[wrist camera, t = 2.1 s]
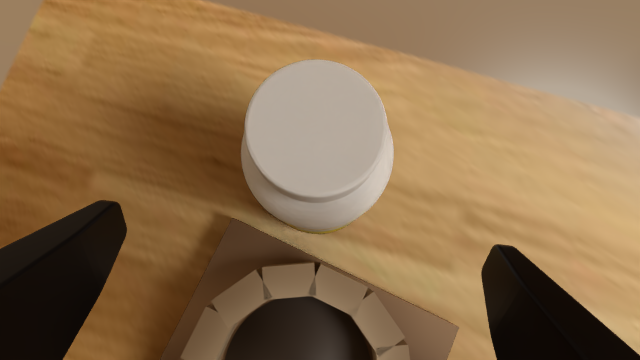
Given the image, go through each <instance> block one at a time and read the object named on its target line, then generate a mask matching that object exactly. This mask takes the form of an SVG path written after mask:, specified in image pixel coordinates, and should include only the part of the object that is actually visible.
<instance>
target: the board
mask: <svg viewBox="0 0 640 360" xmlns="http://www.w3.org/2000/svg"><path fill="white" fill-rule="evenodd" d="M458 329H459V327H458V326H456V325H454V324H452V323H450V322H448V321H446V320H444V319H442V318H440V317H438V316H436V315H434V314H432V313H430V312H428V311H425V310H423V309H421V308H419V307H417V306H415V305H413V304H411V303H409V302H407V301H405V300H403V299H401V298H399V297H396V296H394V295H392V294H390V293H388V292H386V291H384V290H382V289H380V288H378V287H376V286H374V285H372V284H369V283H367V282H365V281H363V280H361V279H359V278H357V277H355V276H353V275H351V274H349V273H347V272H345V271H342V270H340V269H338V268H336V267H334V266H332V265H330V264H328V263H326V262H324V261H322V260H320V259H318V258H316V257H313V256H311V255H309V254H307V253H305V252H303V251H301V250H299V249H297V248H295V247H293V246H291V245H289V244H286V243H284V242H282V241H280V240H278V239H276V238H274V237H272V236H270V235H268V234H266V233H264V232H262V231H259V230H257V229H255V228H253V227H251V226H249V225H247V224H245V223H243V222H241V221H239V220H237V219H234V218H232V220H231V222H230V224H229V226H228V228H227V230H226V232H225V233H224V235H223V237H222V239H221V241H220V243H219V245H218V247H217V249H216V251H215V253H214V255H213V257H212V259H211V261H210V263H209V265H208V267H207V269H206V270H205V272H204V274H203V276H202V278H201V280H200V282H199V284H198V286H197V288H196V290H195V292H194V294H193V296H192V298H191V300H190V302H189V304H188V306H187V307H186V309H185V311H184V313H183V315H182V317H181V319H180V321H179V323H178V325H177V327H176V329H175V331H174V333H173V335H172V337H171V339H170V341H169V343H168V345H167V346H166V348H165V350H164V352H163V354H162V356H161V358H160V360H447V358H448V355H449V352H450V350H451V347H452V345H453V342H454V339H455V337H456V334H457V332H458Z"/></svg>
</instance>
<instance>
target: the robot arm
mask: <svg viewBox="0 0 640 360" xmlns="http://www.w3.org/2000/svg"><path fill="white" fill-rule="evenodd" d="M126 233H127V227H126V223H125V220H124V216H123V213H122V209H121V206H120V204H119V203H118V202H115V201H106V200H100V201H97V202H95V203H93V204H91V205H89V206H87V207H85V208H83V209H81V210H78V211H76V212H74V213H72V214H70V215H68V216H66V217H64V218H62V219H60V220H58V221H56V222H54V223H52V224H50V225H48V226H46V227H44V228H42V229H40V230H38V231H36V232H34V233H32V234H30V235H27V236H25V237H23V238H21V239H19V240H17V241H15V242H13V243H11V244H9V245H7V246H5V247H3V248H1V249H0V360H63V358H64V356H65V355H66V353H67V351H68V349H69V348H70V346H71V344H72V342H73V341H74V339H75V337H76V335H77V334H78V332H79V330H80V328H81V327H82V325H83V323H84V321H85V320H86V318H87V316H88V314H89V313H90V311H91V309H92V307H93V306H94V304H95V302H96V300H97V299H98V297H99V295H100V293H101V291H102V289H103V287H104V285H105V283H106V280H107V278H108V276H109V274H110V271H111V269H112V267H113V264H114V262H115V260H116V257H117V255H118V253H119V251H120V248H121V246H122V244H123V241H124V239H125V237H126ZM481 275H482V283H483V290H484V296H485V303H486V309H487V316H488V322H489V328H490V334H491V338H492V343H493V347H494V350H495V354H496V358H497V360H640V355H639V354H638V353H636V352H635V351H634V350H633V349H632V348H631V347H629V346H628V345H627V344H626V343H625V342H624V341H623V340H621V339H620V338H619V337H618V336H617V335H616V334H614V333H613V332H612V331H611V330H610V329H609V328H608V327H606V326H605V325H604V324H603V323H602V322H601V321H599V320H598V319H597V318H596V317H595V316H594V315H592V314H591V313H590V312H589V311H588V310H587V309H586V308H584V307H583V306H582V305H581V304H580V303H579V302H577V301H576V300H575V299H574V298H573V297H572V296H571V295H569V294H568V293H567V292H566V291H565V290H564V289H562V288H561V287H560V286H559V285H558V284H557V283H556V282H554V281H553V280H552V279H551V278H550V277H549V276H547V275H546V274H545V273H544V272H543V271H542V270H540V269H539V268H538V267H537V266H536V265H535V264H534V263H532V262H531V261H530V260H529V259H528V258H527V257H525V256H524V255H523V254H522V253H521V252H520V251H519V250H517V249H516V248H515V247H513V246H509V245H500V244H497V245H494V246H493V247H492V249H491V251H490V253H489V255H488V257H487V259H486V261H485V263H484V265H483V268H482V273H481Z"/></svg>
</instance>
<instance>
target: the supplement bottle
mask: <svg viewBox="0 0 640 360" xmlns="http://www.w3.org/2000/svg"><path fill="white" fill-rule="evenodd" d="M393 157H394V147H393V140H392V135H391V132H390V129H389V126H388V124H387V117H386V112H385V109H384V106H383V103H382V101H381V99H380V97H379V95H378V93H377V92H376V91H375V89H374V88H373V86H372V85H371V84H370V83H369V82H368V81H367V80H366V79H365V78H364V77H363V76H362V75H360V74H359V73H358V72H356V71H355V70H353V69H351V68H349V67H347V66H346V65H343V64H340V63H337V62H334V61H328V60H317V59H312V60H304V61H299V62H295V63H292V64H289V65H287V66H284V67H282V68H280V69H279V70H277V71H275V72H274V73H273V74H271V75H270V76H269V77H268V78H267V79H265V80H264V81H263V83H262V84H261V85H260V86H259V87H258V89H257V90H256V92H255V93H254V95H253V96H252V98H251V101H250V103H249V105H248V108H247V112H246V116H245V123H244V135H243V139H242V146H241V162H242V168H243V173H244V176H245V179H246V182H247V184H248V186H249V188H250V190H251V192H252V193H253V195H254V197H255V198H256V199H257V200H258V202H259V203H260V204H261V205H262V206H263V207H264V208H265V209H266V210H267V211H268V212H269V213H271V214H272V215H273V216H275V217H276V218H277V219H279V220H281V221H283V222H284V223H286V224H287V225H289V226H291V227H293V228H295V229H297V230H299V231H302V232H306V233H312V234H326V233H331V232H334V231H337V230H340V229H342V228H344V227H346V226H348V225H349V224H351V223H352V222H353V221H355V220H356V219H357V218H358V217H360V216H361V215H363V214H364V213H365V212H366V211H367V210H369V209H370V208H371V207H372V206H373V205H374V204H375V202H376V201H377V200H378V198H379V197H380V196H381V194H382V192H383V191H384V189H385V187H386V185H387V183H388V181H389V178H390V175H391V171H392V166H393Z"/></svg>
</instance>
